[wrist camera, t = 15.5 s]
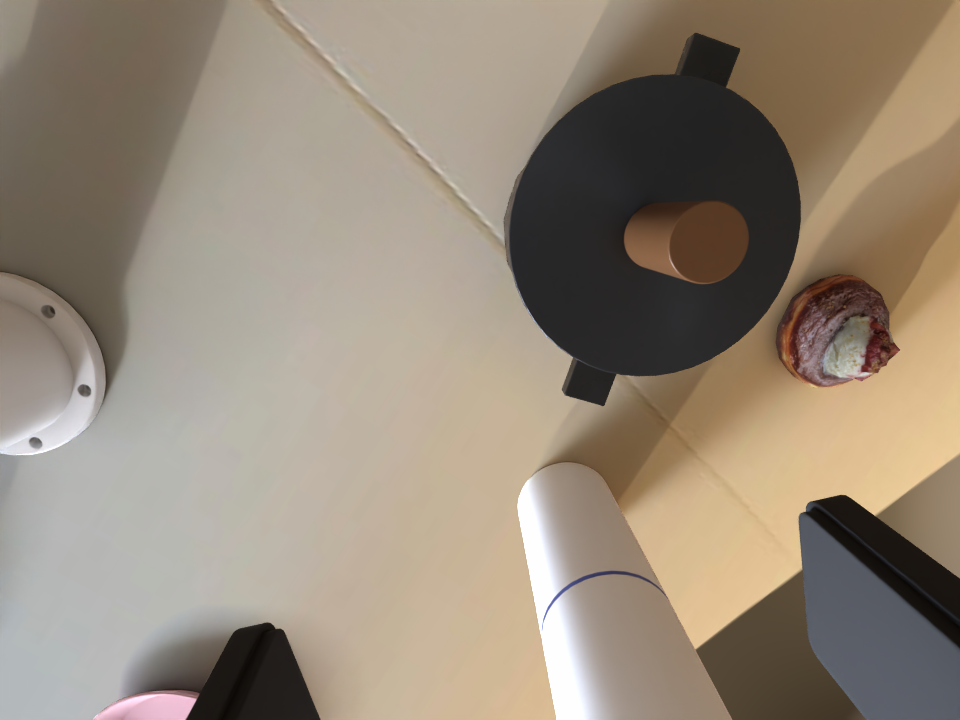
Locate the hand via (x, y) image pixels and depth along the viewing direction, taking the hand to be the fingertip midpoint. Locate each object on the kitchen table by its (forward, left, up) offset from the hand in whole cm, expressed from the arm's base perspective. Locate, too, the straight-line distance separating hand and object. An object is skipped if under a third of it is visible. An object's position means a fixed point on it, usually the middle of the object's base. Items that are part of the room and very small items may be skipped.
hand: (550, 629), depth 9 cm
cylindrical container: (+10, -12, -28) cm, 32 cm away
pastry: (+23, +6, -28) cm, 37 cm away
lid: (+6, +8, -20) cm, 22 cm away
